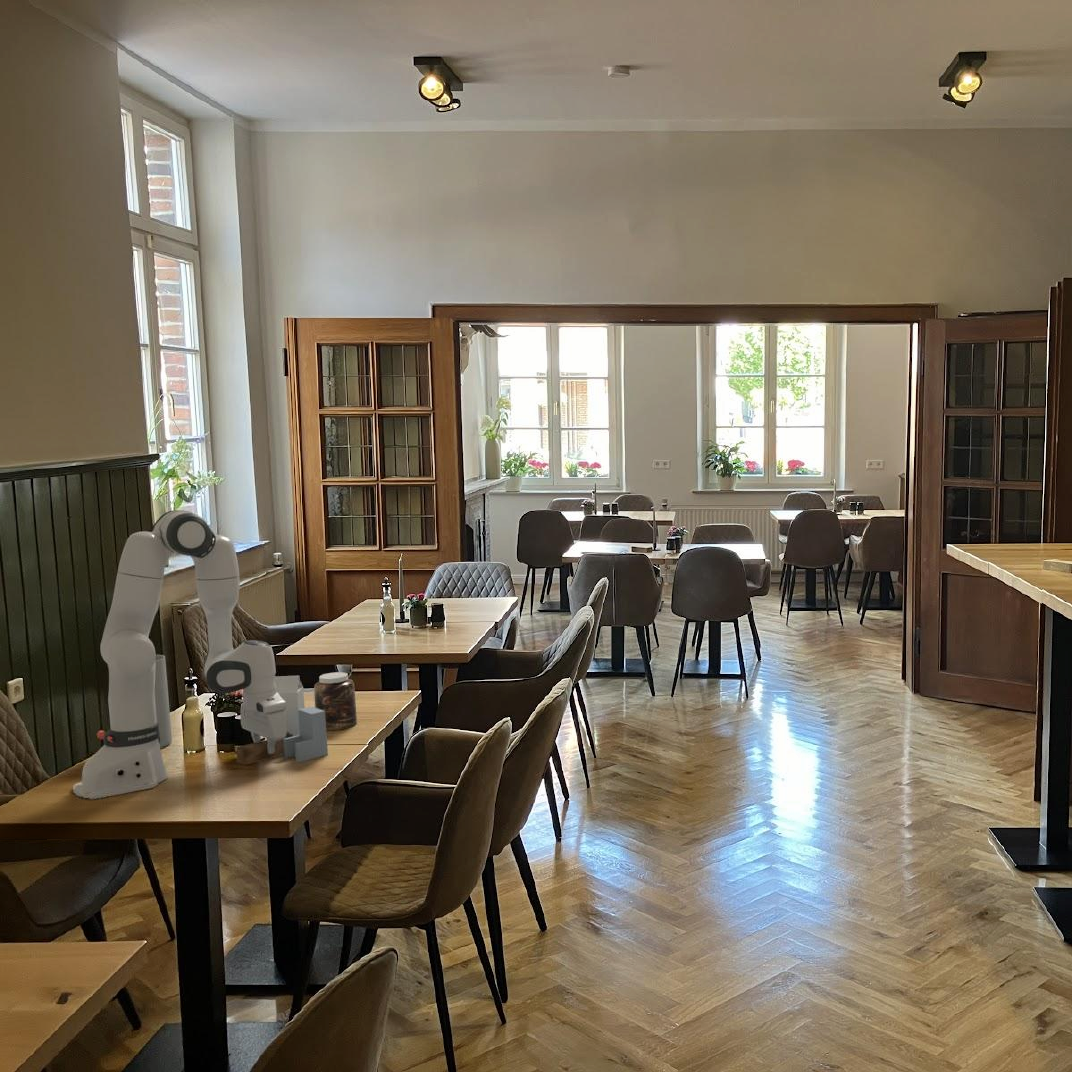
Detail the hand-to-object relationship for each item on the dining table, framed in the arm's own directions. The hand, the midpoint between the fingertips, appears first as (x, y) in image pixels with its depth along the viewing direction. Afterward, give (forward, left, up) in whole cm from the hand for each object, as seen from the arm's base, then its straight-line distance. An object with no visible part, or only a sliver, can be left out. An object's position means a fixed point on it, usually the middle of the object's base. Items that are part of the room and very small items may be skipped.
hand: (264, 750), depth 288 cm
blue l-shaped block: (+8, -8, -2) cm, 12 cm away
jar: (+29, +13, -2) cm, 32 cm away
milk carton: (+11, +7, -2) cm, 14 cm away
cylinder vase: (-18, +37, -2) cm, 41 cm away
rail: (0, 0, -2) cm, 2 cm away
